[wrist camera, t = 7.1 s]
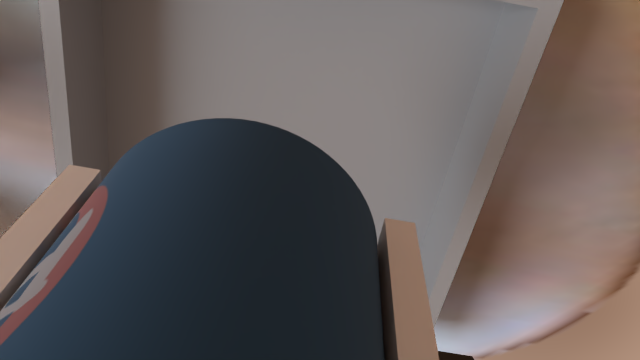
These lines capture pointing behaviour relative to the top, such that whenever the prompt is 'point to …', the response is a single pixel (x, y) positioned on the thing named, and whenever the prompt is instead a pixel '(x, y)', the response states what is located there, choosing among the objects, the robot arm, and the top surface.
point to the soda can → (208, 257)
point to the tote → (312, 91)
